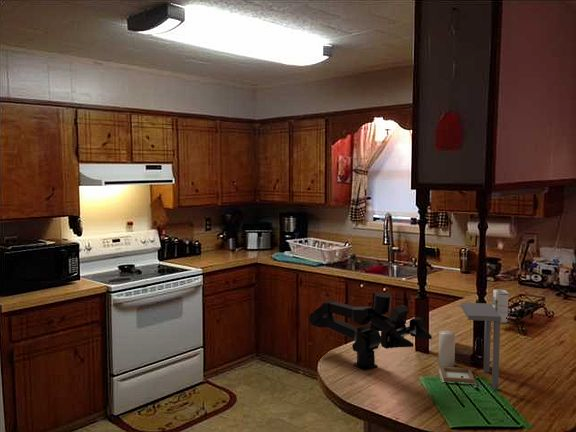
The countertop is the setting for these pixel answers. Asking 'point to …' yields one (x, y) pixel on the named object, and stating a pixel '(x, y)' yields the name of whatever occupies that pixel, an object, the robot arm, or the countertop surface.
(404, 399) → the countertop surface
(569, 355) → the countertop surface
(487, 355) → the shelf
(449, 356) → the ceramic jar
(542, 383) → the countertop surface
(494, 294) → the syrup box
